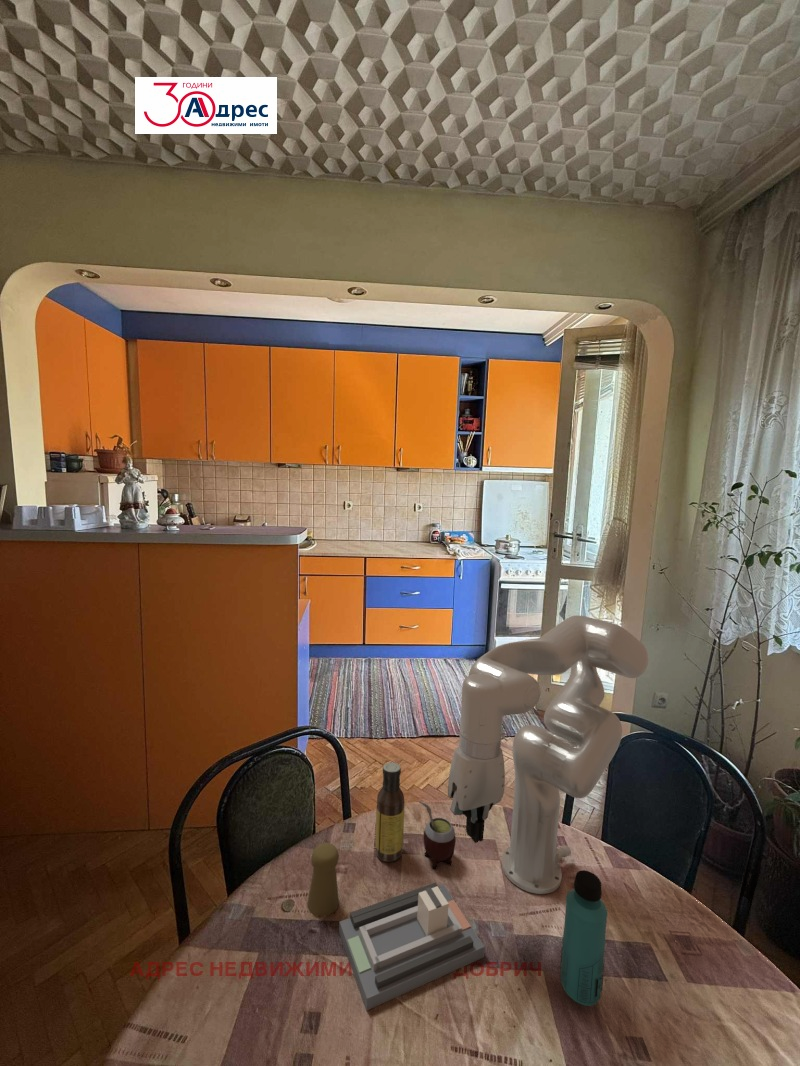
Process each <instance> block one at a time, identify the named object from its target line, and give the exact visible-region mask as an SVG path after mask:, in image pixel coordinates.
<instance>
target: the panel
mask: <svg viewBox="0 0 800 1066" xmlns="http://www.w3.org/2000/svg"><path fill="white" fill-rule="evenodd" d="M437 886H438V888H439V889H440V891H441V893H442V894H443V896H444V897H445V899H446V900H447V902H448V903H449V905H448V920H447V928H446V929H443V930H441V931H438V932H436V933H434V934H431V935H429V936H426V934H425V932H424V931H423V929H422V927H421V925H420V923H419V921H418V919H417V910H418V894H419V893H420V892H423V891H425V890H426V888H429V887H431V888H434V887H437ZM349 913H350V914H349V918H345V919H343V920H341V921H339V923H338V924H339V925H338V926H339V927H338V934H339V935H340V936H339V937H340V939H341V942H342V945H343V948H344V951H345V954H346V956H347V959H348V962H349V965H350V968H351V971H352V973H353V977H354V979H355V981H356V984H357V988H358V990H359V993H360V996H361V999H362V1002H363V1006H364V1007H365V1010H366V1011H369V1010H371V1009H373V1008H376V1007H378V1006H380V1005H382V1004H384V1003H387V1002H389V1001H391V1000H393V999H396V998H398V997H400V996H402V995H405V994H407V993H409V992H411V991H413V990H415V989H418V988H419V987H422V986H425V985H426V984H428V983H430V982H433V981H434V980H438V979H439V978H442V977H443V976H445V975H449V974H450V973H453V972H455V971H457V970H459V969H461V968H464V967H466V966H467V965H469V964H473V963H474V962H477V961H479V960H481V959H483V958H484V957H485V947H486V946H485V945H484V943H483V942H482V940H481V939H480V937H479V936H478V934H477V933H476V931H475V930H474V928H473V927H472V925H471V924H470V922H469V921H468V919H467V917H466V916H465V914H464V913H463V911H462V910H461V908H460V906H458V904H457V902H456V900H455V899H454V897H453V896H452V894H451V893H450V892H449V890H448V888H447V887H446V885H445V884H443V883H442V885H438V884H437V882H433V883H430V884H427V885H425V886H422V887H418V888H416V889H413V890H410V891H408V892H404V893H401V894H399V895H396V896H393V897H391V898H388V899H385V900H384V899H383V900H382V901H379V902H377V903H374V904H373V903H372V904H369V905H368V906H365V907H362V908H359V909H355V910H353V911H351V912H349Z"/></svg>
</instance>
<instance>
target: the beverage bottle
mask: <svg viewBox="0 0 800 1066" xmlns="http://www.w3.org/2000/svg"><path fill="white" fill-rule="evenodd" d="M574 878H575V879H574V881H573V889H571V890H569V891H568V892H567V894H566V898H565V912H564V913H565V914H564V925H563V935H562V942H561V943H562V945H561V950H560V953H561V954H560V965H559V966H560V967H559V970H560V973H559V977H560V982H561V985H562V987H563V990H564V991H565V993H566V994H567V996H568V997H570V999H572V1000H573V1001H574V1002H575V1003H577V1004H580V1005H582V1006H587V1007H592V1006H595V1005H596V1004H597V1003H598V1002H599V1000H600V999H601V997H602V996H603V995H602V994H603V992H602V991H603V985H604V969H605V957H606V956H605V953H606V952H605V950H606V934H607V931H606V930H607V919H608V910H607V909H608V908H607V906H606V904H605V903H604V901H603V900H602V899H601V898H602V893H603V892H602V882H601V880H600V878H599V877H598V876H597V875H596V874H594V873H593V872H591V871H590V870H585V869H584V870H579V871H577V872H576V874H575V877H574Z"/></svg>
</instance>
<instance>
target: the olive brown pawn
mask: <svg viewBox="0 0 800 1066" xmlns="http://www.w3.org/2000/svg"><path fill="white" fill-rule="evenodd" d="M339 856H340V855H339V850H338V849H337V847H336V845H334V844H333V843H330V842H323V843H319V844H318V845H317V846H316V847H315V848H314V849H313V851H312V854H311V865H312V868H313V871H312V876H311V882H310V886H309V893H308V897H307V903H306V905H307V909H308V911H309V912H310V914H312V915H313V916H316V917H323V918H324V917H327V916H329V915H331V914H332V913H334V912H335V911H336V910H337V908H338V906H339V900H340V899H339V891H338V890H339V889H338V879H337V869H336V868H337V866H338V862H339V859H340V857H339Z"/></svg>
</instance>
